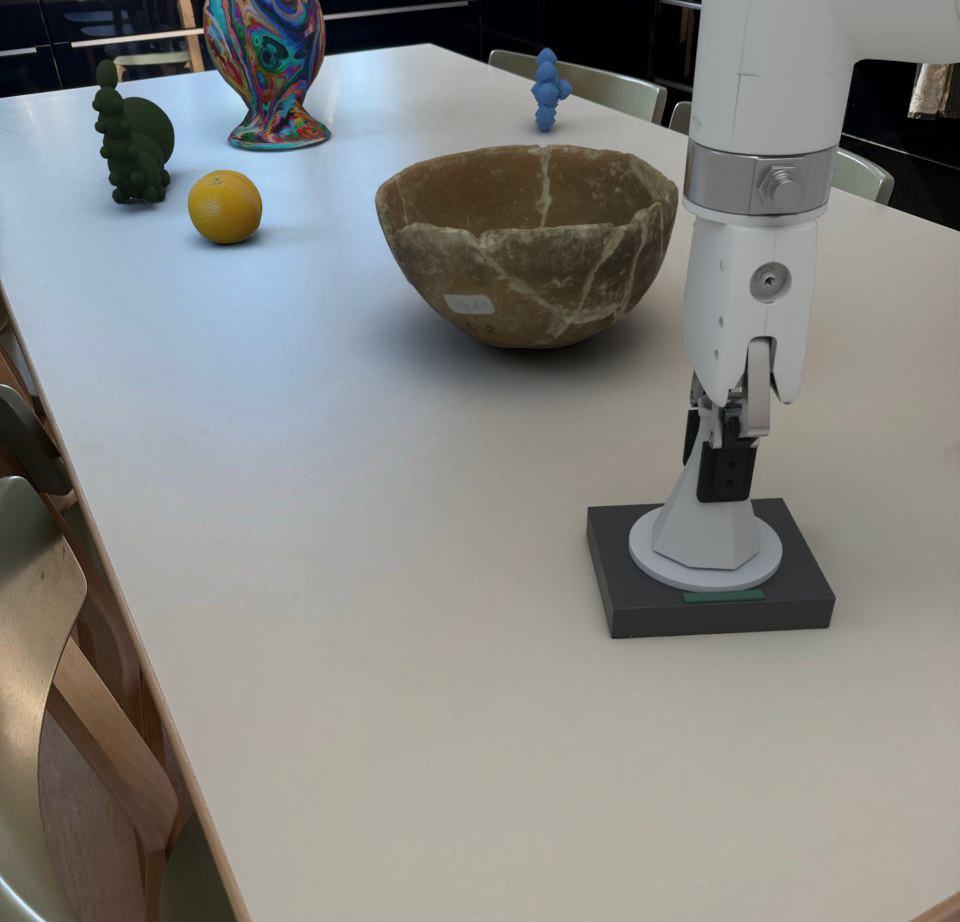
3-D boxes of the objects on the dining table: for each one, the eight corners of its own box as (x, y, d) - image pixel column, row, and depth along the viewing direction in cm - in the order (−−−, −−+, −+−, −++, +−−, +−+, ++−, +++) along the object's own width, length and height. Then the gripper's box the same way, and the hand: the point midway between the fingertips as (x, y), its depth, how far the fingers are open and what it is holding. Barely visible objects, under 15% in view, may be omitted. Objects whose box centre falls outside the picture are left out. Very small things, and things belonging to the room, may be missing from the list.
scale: (777, 525, 74) (783, 489, 72) (829, 627, 65) (838, 590, 63) (586, 534, 74) (587, 499, 72) (611, 638, 65) (614, 601, 63)
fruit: (195, 254, 122) (181, 184, 117) (195, 233, 129) (182, 166, 124) (268, 248, 124) (258, 178, 119) (265, 227, 130) (255, 160, 125)
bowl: (483, 430, 86) (479, 251, 77) (343, 328, 104) (326, 172, 95) (727, 352, 97) (750, 187, 88) (563, 271, 115) (567, 127, 106)
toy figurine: (173, 229, 136) (187, 161, 153) (139, 72, 122) (158, 17, 140) (101, 233, 135) (124, 165, 152) (58, 76, 121) (88, 21, 139)
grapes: (573, 139, 161) (576, 52, 153) (530, 140, 161) (531, 53, 153) (569, 121, 170) (572, 39, 162) (529, 122, 170) (530, 40, 162)
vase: (200, 140, 165) (159, -86, 146) (294, 120, 175) (267, -95, 156) (263, 160, 155) (228, -80, 136) (359, 137, 164) (338, -91, 145)
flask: (669, 503, 71) (684, 368, 65) (772, 526, 69) (798, 388, 62) (634, 557, 66) (647, 417, 60) (744, 584, 64) (769, 441, 57)
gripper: (885, 223, 47) (812, 553, 58) (784, 134, 59) (740, 419, 71) (723, 229, 47) (682, 559, 58) (656, 138, 59) (633, 424, 71)
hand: (714, 480), depth 65 cm, fingers closed on flask, 3 cm apart
